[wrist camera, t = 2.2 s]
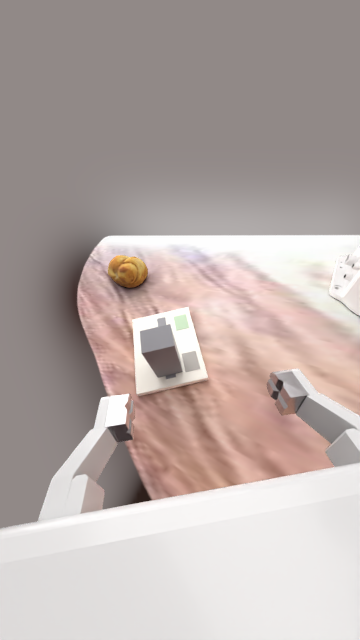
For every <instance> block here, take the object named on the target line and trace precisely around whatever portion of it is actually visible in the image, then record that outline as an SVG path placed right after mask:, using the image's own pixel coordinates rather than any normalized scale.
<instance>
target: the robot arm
mask: <svg viewBox="0 0 360 640" xmlns="http://www.w3.org/2000/svg"><path fill="white" fill-rule="evenodd" d="M329 294H330V295H331V296H332V297H334V298H335V299H337V300H339V301H341V302H342V303H343V304H345V305H346V306H347V307H348V308H349V309H350V310H351V311H353V312H354V313H355V314H357V315H359V316H360V247H359V248H358V249H357V250H356V251H355V252H354V253H353V254H351V255H343V256H340V257H339V258H338V259H337V260H336V264H335V268H334V272H333V276H332V280H331V284H330V288H329ZM270 378H271V379H270V380H268V382H267V389H268V392H269V394H270V396H271V397H272V398H273V399H275V405H276V407H277V409H278V410H279V412H280V414H281V415H288V414H296V415H297V416H298V417H300V418H301V419H302V420H303V421H305V422H306V423H307V424H308V425H309V426H311V427H312V428H313V429H314V430H315V431H317V432H318V433H319V434H320V435H321V436H323V437H324V438H325V439H326V440H327V441H329V442H330V443H331V445H330V446H329V447H328V448H327V449H326V451H325V452H326V454H327V456H328V457H329V459H330V460H331V462H332V463H333V465H334V467H332V468H327V469H322V470H316V471H311V472H305V473H300V474H294V475H289V476H283V477H278V478H272V479H267V480H262V481H256V482H251V483H245V484H240V485H234V486H229V487H223V488H218V489H213V490H207V491H202V492H196V493H191V494H185V495H180V496H174V497H169V498H163V499H158V500H153V501H147V502H142V503H136V504H131V505H125V506H120V507H114V508H109V509H104V510H102V506H103V499H104V492H105V491H104V490H103V488H101V487H100V486H99V485H98V484H97V483H96V481H97V479H98V477H99V476H100V474H101V472H102V470H103V469H104V467H105V465H106V463H107V462H108V460H109V458H110V456H111V454H112V453H113V451H114V449H115V447H116V445H117V444H118V443H117V442H123V441H128V440H133V438H134V425H133V420H134V419H135V405H134V402H133V401H132V400H131V398H132V397H131V394H123V395H116V396H108V397H102V398H101V400H100V404H99V408H98V412H97V416H96V421H95V425H94V429H92V430H90V432H89V433H88V434H87V435H86V436H85V438H84V439H83V440H82V441H81V443H80V444H79V445H78V446H77V448H76V449H75V450H74V451H73V453H72V454H71V455H70V457H69V458H68V459H67V460H66V462H65V463H64V464H63V465H62V467H61V468H60V469H59V470H58V472H57V473H56V474H55V476H54V477H53V478H52V480H51V483H50V486H49V489H48V492H47V495H46V498H45V501H44V504H43V507H42V510H41V513H40V516H39V519H38V522H33V523H27V524H22V525H16V526H11V527H5V528H0V640H360V416H359V415H357V414H355V413H354V412H352V411H350V410H349V409H347V408H345V407H343V406H342V405H340V404H338V403H337V402H335V401H333V400H332V399H330V398H328V397H327V396H325V395H323V394H319V393H318V392H317V391H316V390H315V388H314V387H313V386H312V385H311V383H310V382H309V381H308V380H307V378H306V377H305V376H304V375H303V373H302V372H301V371H300V370H299V369H291V370H284V371H278V372H272V373H271V374H270Z"/></svg>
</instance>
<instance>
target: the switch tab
mask: <svg viewBox="0 0 360 640" xmlns="http://www.w3.org/2000/svg"><path fill="white" fill-rule="evenodd" d="M140 341H141V353H142V355H143V356H144V358H145V359H146V361H147V362H148V364H149V365H150V367H151V368H152V370H153V371H154V373H155V374H156V376H157V377H158V378H159V377H163V376H168V375H172V374H176V373H181V372H183V371H182V366H181V361H180V356H179V352H178V349H177V345H176V342H175V338H174V335H173V332H172V328H171V325H170V324H168V325H164V326H160V327H155V328H151V329H147V330H142V331H140Z"/></svg>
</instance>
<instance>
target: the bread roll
mask: <svg viewBox="0 0 360 640" xmlns="http://www.w3.org/2000/svg"><path fill="white" fill-rule="evenodd" d="M108 274H109V276H110V277H111V278H112V280H114V282H116V283H117V284H119V285H121V286H124V287H128V288H133V287H136V286H138V285H140V284H141V283H142V282H143V281H144V280H145V278H146V277H147V274H148V269H147V267H146V265H145V263H144V262H143V261H142V260H141V259H139V258H136V257H128V256H123V255H121V256H116V257H114V258H113V259H112V260H111V262H110V263H109V267H108Z"/></svg>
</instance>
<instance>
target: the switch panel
mask: <svg viewBox="0 0 360 640" xmlns="http://www.w3.org/2000/svg"><path fill="white" fill-rule="evenodd" d="M168 324H170V325H171V328H172V332H173V335H174V338H175V342H176V345H177V349H178V352H179V356H180V361H181V366H182V371H183V372H181V373H176V374H172V375H168V376H163V377H159V378H158V377H157V376H156V374H155V373H154V371H153V370H152V368H151V367H150V365H149V364H148V362H147V361H146V359H145V358H144V356H143V355H142V353H141V341H140V331H142V330H147V329H151V328H155V327H160V326H164V325H168ZM133 337H134V357H135V376H136V394H137V395H138V396H142V395H146V394H150V393H155V392H159V391H163V390H167V389H172V388H176V387H180V386H185V385H189V384H193V383H197V382H202V381H206V380H208V375H207V372H206V368H205V365H204V361H203V358H202V354H201V351H200V347H199V344H198V340H197V337H196V333H195V330H194V326H193V323H192V319H191V316H190V312H189V309H188V307H186V308H182V309H177V310H173V311H169V312H164V313H160V314H156V315H151V316H147V317H142V318H138V319H134V320H133Z"/></svg>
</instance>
